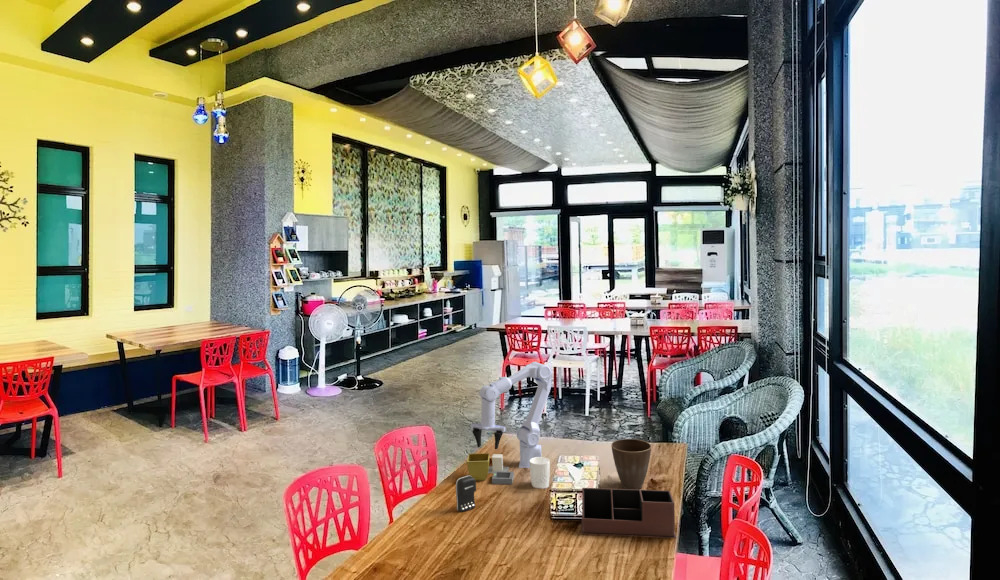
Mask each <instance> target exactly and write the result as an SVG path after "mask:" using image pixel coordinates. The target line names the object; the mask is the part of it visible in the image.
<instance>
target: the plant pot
mask: <svg viewBox="0 0 1000 580" xmlns="http://www.w3.org/2000/svg"><path fill="white" fill-rule="evenodd" d="M611 451H612V456H613V462H614V467H615V470H616V473H617V475H618V478H619V481H620V483H621V485H622V487H623V489H634V490H641V489H642V488H643V485H644V483H645V480H646V477H647V474H648V469H649V464H650V460H651V452H652V444H650V442H648V441H645V440H641V439H635V438H627V439H626V438H624V439H618V440H615V441H613V442H611Z"/></svg>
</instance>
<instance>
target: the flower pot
mask: <svg viewBox="0 0 1000 580" xmlns="http://www.w3.org/2000/svg"><path fill="white" fill-rule="evenodd" d="M490 456H491V455H490V453H486V452H485V453H468V455H467V460H466V464H467V469H468V470H467V471H468V475H469V476H472V477H473V478H474V479H475V481H476V482H477V481H486V479H487V477H488V475H489V473H488V469H489V466H490V458H491V457H490Z"/></svg>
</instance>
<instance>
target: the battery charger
mask: <svg viewBox="0 0 1000 580" xmlns="http://www.w3.org/2000/svg"><path fill="white" fill-rule="evenodd" d="M455 481H456V482H455V498H456V511H458V512H463V513H464V512H467V511H470V510H473V509H475V508H476V502H475V501H476V500H475V492H477V481H475V479H474V478H473V477H472V476H470V475H469V474H468V475H465V476H462V477H461V476H460V477H459V478H457V479H456V480H455Z"/></svg>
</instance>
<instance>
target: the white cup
mask: <svg viewBox="0 0 1000 580" xmlns="http://www.w3.org/2000/svg"><path fill="white" fill-rule="evenodd" d="M550 471H551V460H550V459H549V458H548V457H544V456H542V457H535V458H532V459H530V468H529V472H530V481H531V483H530V484H531V486H532V487H533V488H536V489H548V488H549V487H550V478H551V477H550V474H551V473H550Z"/></svg>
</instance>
